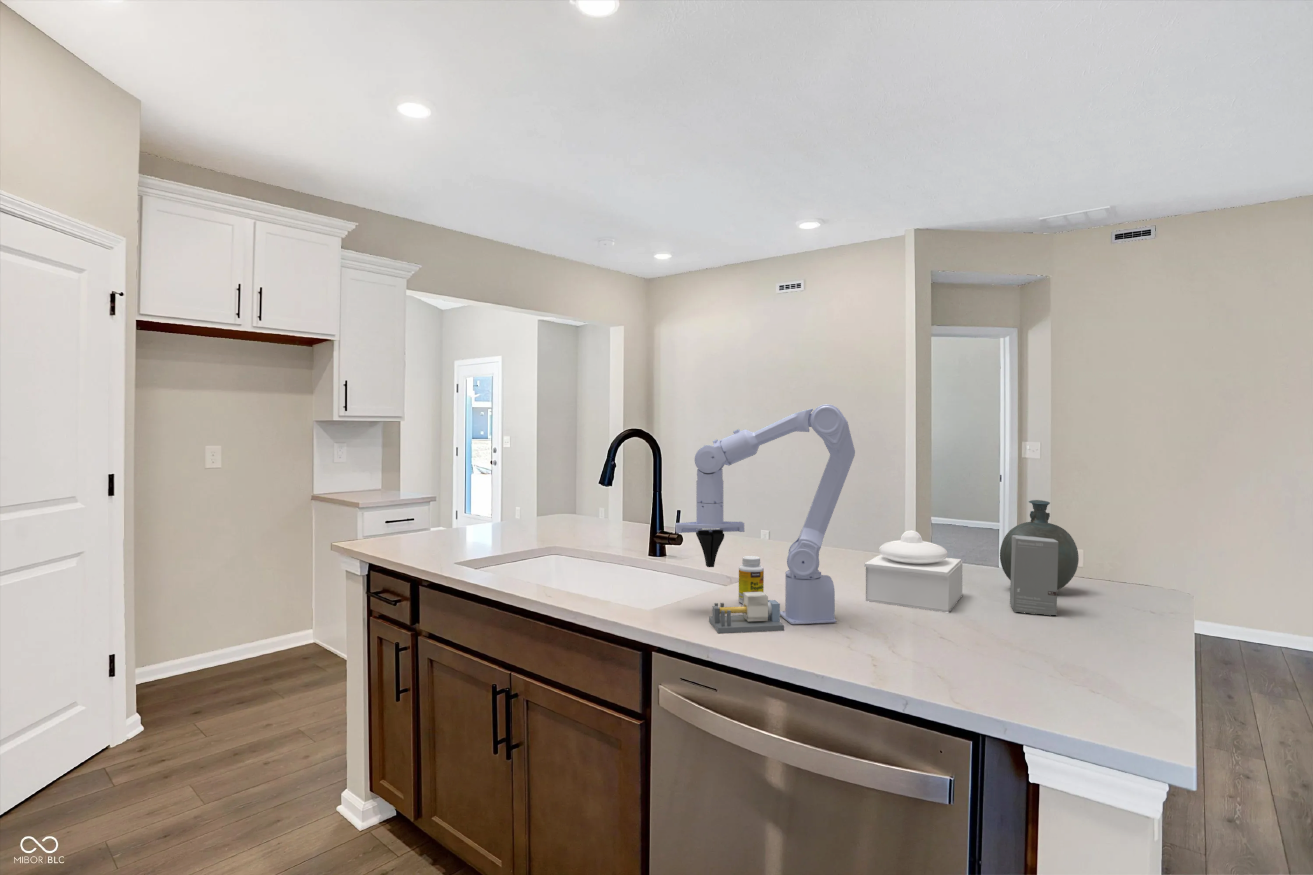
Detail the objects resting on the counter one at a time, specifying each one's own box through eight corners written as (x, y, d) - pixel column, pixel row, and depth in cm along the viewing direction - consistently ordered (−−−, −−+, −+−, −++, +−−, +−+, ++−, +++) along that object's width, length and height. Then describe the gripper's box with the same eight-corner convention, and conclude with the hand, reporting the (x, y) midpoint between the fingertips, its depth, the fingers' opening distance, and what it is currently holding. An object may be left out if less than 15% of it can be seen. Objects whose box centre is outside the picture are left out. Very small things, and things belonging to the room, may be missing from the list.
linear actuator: (771, 618, 134) (771, 596, 134) (784, 630, 126) (784, 607, 126) (709, 621, 132) (709, 599, 132) (718, 633, 124) (718, 609, 124)
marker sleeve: (762, 615, 132) (762, 591, 132) (767, 620, 128) (767, 596, 128) (742, 616, 131) (742, 592, 131) (748, 621, 127) (748, 596, 127)
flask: (1085, 601, 148) (1086, 504, 148) (1001, 594, 154) (1001, 501, 154) (1075, 589, 159) (1075, 499, 159) (996, 583, 165) (996, 496, 165)
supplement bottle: (750, 607, 143) (750, 560, 143) (733, 601, 148) (733, 556, 148) (768, 603, 146) (768, 557, 146) (752, 598, 151) (752, 554, 151)
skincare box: (1013, 613, 138) (1013, 538, 138) (1009, 605, 145) (1009, 533, 145) (1059, 617, 135) (1059, 540, 135) (1053, 608, 142) (1053, 535, 142)
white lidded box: (962, 596, 153) (962, 528, 153) (947, 614, 138) (948, 539, 138) (885, 586, 163) (885, 523, 163) (864, 602, 148) (864, 532, 148)
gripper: (738, 499, 143) (738, 561, 143) (673, 500, 141) (673, 563, 141) (747, 503, 136) (747, 568, 136) (678, 504, 134) (678, 570, 134)
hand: (709, 566), depth 138 cm, fingers closed
